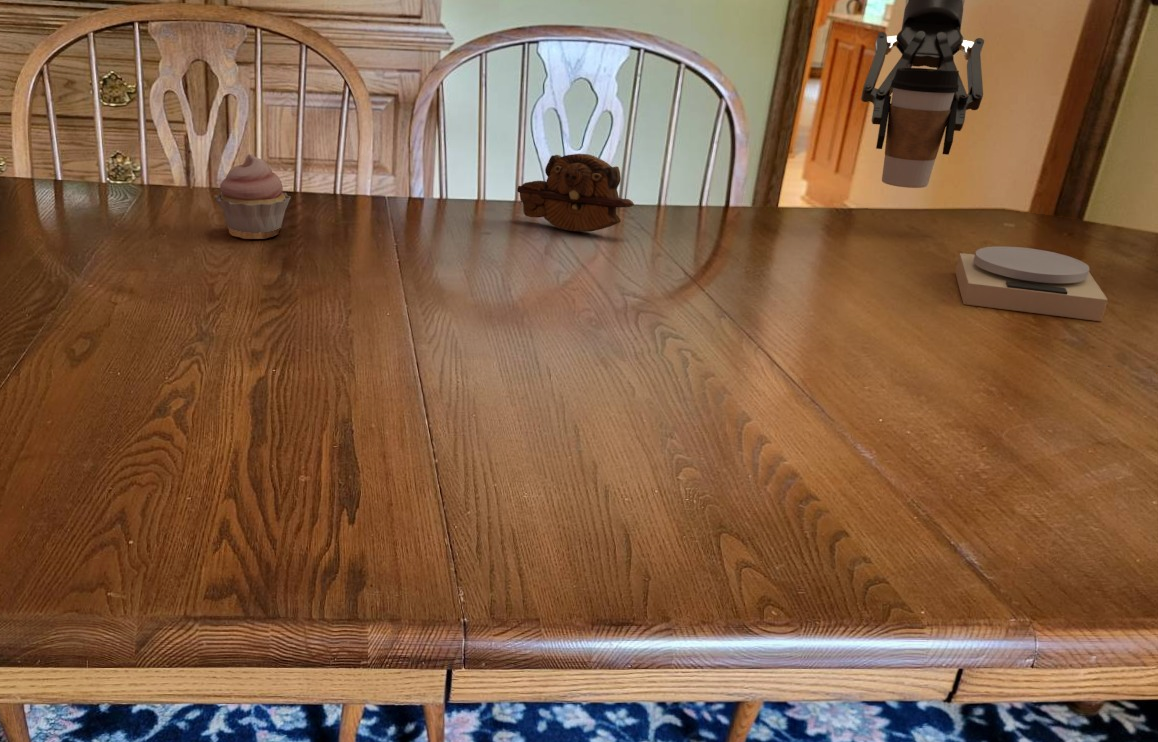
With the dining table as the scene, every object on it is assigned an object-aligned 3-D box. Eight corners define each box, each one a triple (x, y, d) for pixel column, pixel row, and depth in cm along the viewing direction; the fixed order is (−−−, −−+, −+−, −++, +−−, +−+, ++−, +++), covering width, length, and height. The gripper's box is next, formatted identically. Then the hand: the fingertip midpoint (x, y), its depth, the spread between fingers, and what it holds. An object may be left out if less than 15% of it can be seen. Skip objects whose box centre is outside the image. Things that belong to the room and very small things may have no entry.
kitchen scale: (1080, 287, 131) (1089, 254, 130) (1101, 321, 119) (1112, 286, 118) (954, 272, 135) (962, 240, 134) (963, 304, 123) (971, 269, 122)
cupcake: (203, 230, 139) (198, 150, 135) (269, 222, 145) (267, 144, 140) (237, 247, 133) (233, 163, 128) (305, 238, 138) (303, 157, 134)
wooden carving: (508, 224, 149) (513, 149, 144) (523, 218, 152) (528, 144, 148) (622, 244, 141) (630, 165, 137) (635, 237, 145) (643, 160, 141)
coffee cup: (895, 190, 145) (919, 71, 139) (859, 177, 152) (881, 63, 146) (950, 189, 147) (977, 71, 141) (913, 176, 154) (936, 64, 148)
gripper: (1007, 31, 152) (991, 169, 145) (853, 23, 158) (829, 155, 151) (1021, -9, 145) (1005, 134, 138) (859, -17, 151) (835, 120, 144)
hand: (913, 145), depth 144 cm, fingers closed on coffee cup, 8 cm apart
